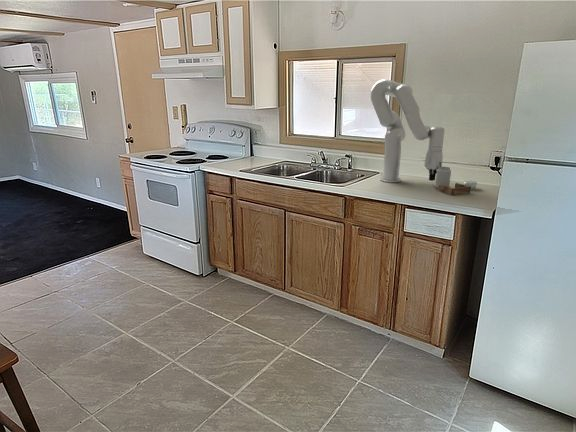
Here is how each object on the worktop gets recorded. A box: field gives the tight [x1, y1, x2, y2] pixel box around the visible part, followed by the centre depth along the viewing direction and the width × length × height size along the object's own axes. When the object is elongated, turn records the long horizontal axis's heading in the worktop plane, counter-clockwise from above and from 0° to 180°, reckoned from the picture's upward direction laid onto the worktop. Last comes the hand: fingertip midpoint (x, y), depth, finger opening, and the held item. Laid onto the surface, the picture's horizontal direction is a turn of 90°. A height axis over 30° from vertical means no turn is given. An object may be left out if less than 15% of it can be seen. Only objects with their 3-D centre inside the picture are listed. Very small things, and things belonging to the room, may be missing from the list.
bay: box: [438, 182, 472, 196], centre depth 214 cm, size 10×12×4 cm
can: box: [434, 166, 452, 190], centre depth 221 cm, size 8×8×12 cm
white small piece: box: [462, 180, 478, 191], centre depth 221 cm, size 7×7×4 cm
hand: (431, 180), depth 230 cm, fingers closed
